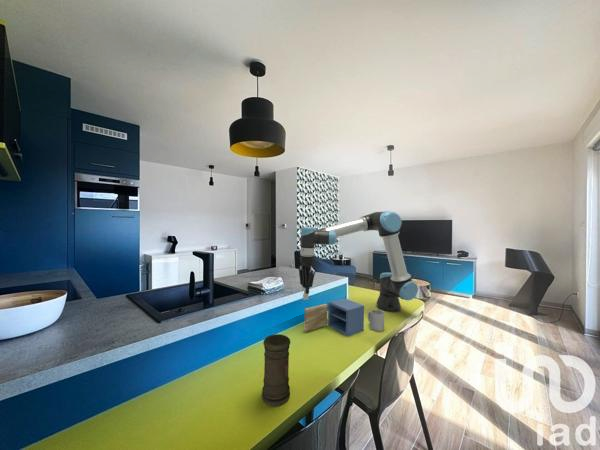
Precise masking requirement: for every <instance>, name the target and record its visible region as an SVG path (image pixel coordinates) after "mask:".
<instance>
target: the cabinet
mask: <svg viewBox="0 0 600 450" xmlns="http://www.w3.org/2000/svg"><path fill="white" fill-rule="evenodd" d="M364 323H365V305H363V304H361V303H358V302H356V301H353V300H350V299H348V298H339V299H335V300H331V301H328V309H327V326H328V327H329V328H331V329H332V330H334V331H336V332H337V333H338V332H339V333H340V334H341V335H344V336H345V337H350V336H353V335H356V334H359V333H361V332H364V330H365V329H364V328H365V325H364Z"/></svg>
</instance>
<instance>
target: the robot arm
mask: <svg viewBox="0 0 600 450" xmlns="http://www.w3.org/2000/svg"><path fill="white" fill-rule="evenodd" d="M402 224H403V222H402V218H401V216H400V215H399V214H398V213H397V212H396V211H392V210H391V211H389V210H386V211H374V212H372V213H369V214H365V215H362V216H359V218H357V219H352V220H350V221H346V222H342V223H338V224H335V225H331V226H327V227H326V226H325V227H323V228H319V229H316V228H315V226H302V227H301V229H300V257H299V262H300V266H298V267H297V269H298V272H299V273H298V275H299V284H300V285H301V287H302V292H303V291H304V294H303V293H302V300H304V301H306V300H309V294H310V288H312V287H313V284H314V280H315V279H314V278H315V275H316V270H315V269H314V268H313V267H314V266H313V264H314V263H315V256H314V255H315V245H321V246H322V245H325V246H326V245H327V246H328V245H329V246H330V245H331V246H332V245H335V244H336V242H337V238H339V237H343V236H347V235H351V234H354V233H358V232H361V231H362V232H368V231H377V232H378V235H379V237H380V238H382V240H383V244H384V245H383V246H384V248H385V253H386V256H387V260H388V263H389V268H390V271H391V272H382V273H380V275H379V295H378V299H377V301H376V308H378V310H381V311H384V312H385V311H386V312H393V313H395V312H400V311H402V304H401V303H400V302H401V301H400V299H401V300H404V301H412V300H414V299H415V298H416V296H417V294H418V291H419V287H418V285H417V283H416V282H415V281H413V279H412V275H411V274H410V273H408V270H407V266H406V262H405V259H404V254H403V250H402V246H401V242H400V239H399V234H400V233H401V231H400V229H401V226H402Z"/></svg>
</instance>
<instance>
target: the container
mask: <svg viewBox="0 0 600 450" xmlns="http://www.w3.org/2000/svg"><path fill="white" fill-rule="evenodd" d="M290 345H291V339H290V338H289V337H288V335H287V336H286V335H284V334H278V333H277V334H271V335H268V336H266V337H265V338H264V339H263V347H264V353H263V357H264V367H263V369H264V371H263V372H264V374H263V375H264V376H263V387H262V392H261V398H262V401H263V403H264V404H266V405H267V406H269V407H279V406H283V405H284V404H286V403H288V401H289V399H290V396H291V391H290V390H291V389H290V385H289V384H290V378H289V366H290V365H289V363H290V362H289V358H290V357H289V356H290V352H289V349H290Z"/></svg>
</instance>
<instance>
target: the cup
mask: <svg viewBox="0 0 600 450" xmlns="http://www.w3.org/2000/svg"><path fill="white" fill-rule="evenodd" d="M367 319H368V320H367V321H368V323H369V328H370V330H372V331H374V332H379V333H380V332H383V331H384V330H385V310H381V309H376V308H375V309H370V310H369V311H368V313H367Z"/></svg>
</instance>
